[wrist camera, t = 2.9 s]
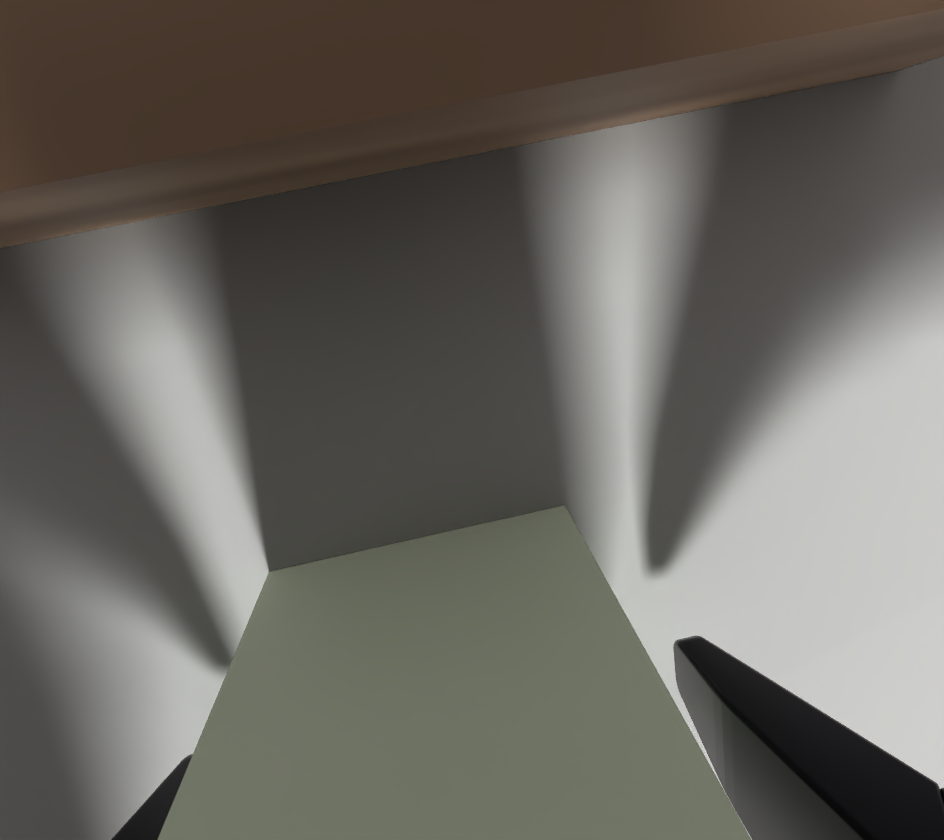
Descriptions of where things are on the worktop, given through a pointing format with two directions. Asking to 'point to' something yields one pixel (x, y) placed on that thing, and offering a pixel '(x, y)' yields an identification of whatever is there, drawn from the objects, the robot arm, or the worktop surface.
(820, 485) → the worktop surface
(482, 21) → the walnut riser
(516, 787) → the sage block
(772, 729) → the robot arm
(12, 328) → the worktop surface
